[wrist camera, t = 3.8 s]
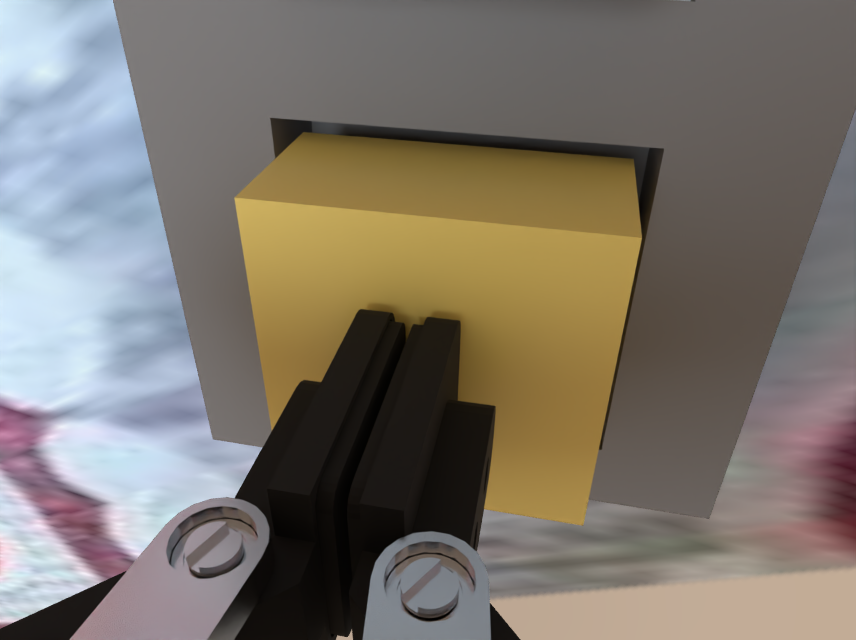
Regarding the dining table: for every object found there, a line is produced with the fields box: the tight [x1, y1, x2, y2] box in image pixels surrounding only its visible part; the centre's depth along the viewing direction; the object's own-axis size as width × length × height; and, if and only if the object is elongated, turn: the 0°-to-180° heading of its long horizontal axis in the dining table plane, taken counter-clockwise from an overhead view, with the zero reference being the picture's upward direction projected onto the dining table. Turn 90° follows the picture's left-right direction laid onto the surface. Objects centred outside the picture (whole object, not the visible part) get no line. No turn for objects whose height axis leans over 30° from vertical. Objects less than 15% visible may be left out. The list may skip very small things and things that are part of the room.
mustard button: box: [234, 132, 642, 525], centre depth 13 cm, size 6×6×3 cm
